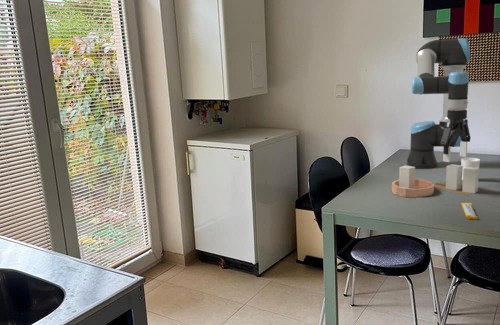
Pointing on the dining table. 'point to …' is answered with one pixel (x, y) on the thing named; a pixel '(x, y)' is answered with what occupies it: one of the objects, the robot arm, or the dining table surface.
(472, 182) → the off-white square pillar
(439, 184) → the board
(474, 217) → the candy bar
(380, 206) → the dining table surface
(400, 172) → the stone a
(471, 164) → the white cup
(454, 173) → the off-white rectangular block
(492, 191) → the dining table surface
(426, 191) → the bowl
